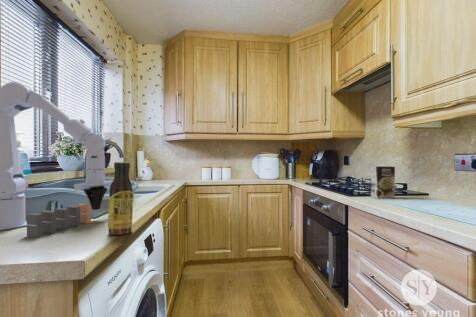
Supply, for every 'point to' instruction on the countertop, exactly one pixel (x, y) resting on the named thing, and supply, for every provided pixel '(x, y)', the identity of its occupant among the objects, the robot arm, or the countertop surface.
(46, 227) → the domino
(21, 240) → the countertop surface
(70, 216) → the domino
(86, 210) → the domino
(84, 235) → the countertop surface
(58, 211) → the domino
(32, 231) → the domino
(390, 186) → the coffee box
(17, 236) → the countertop surface
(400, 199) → the countertop surface
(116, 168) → the sauce bottle
